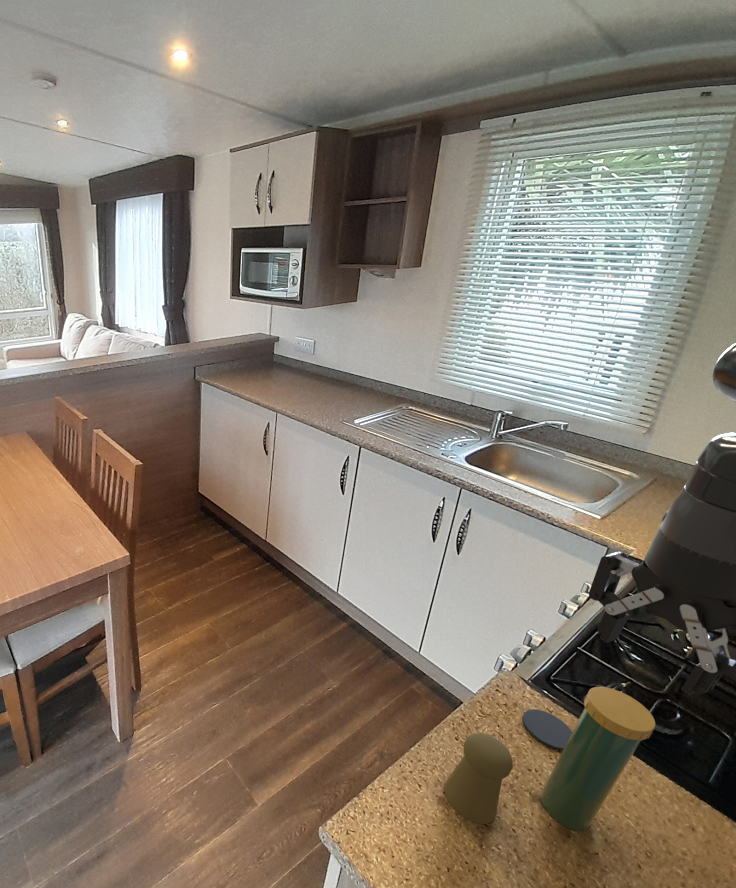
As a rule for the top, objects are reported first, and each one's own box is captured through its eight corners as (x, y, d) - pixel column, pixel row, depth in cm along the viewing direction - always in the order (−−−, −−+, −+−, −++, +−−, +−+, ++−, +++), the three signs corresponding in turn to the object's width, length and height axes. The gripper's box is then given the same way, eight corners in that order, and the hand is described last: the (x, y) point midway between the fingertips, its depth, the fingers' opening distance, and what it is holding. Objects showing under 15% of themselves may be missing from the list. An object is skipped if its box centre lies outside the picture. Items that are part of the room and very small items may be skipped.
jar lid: (627, 698, 59) (631, 690, 58) (664, 744, 54) (670, 736, 53) (572, 691, 60) (576, 683, 59) (604, 735, 55) (608, 727, 54)
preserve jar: (574, 792, 66) (628, 695, 58) (599, 834, 61) (662, 735, 54) (532, 784, 67) (580, 688, 59) (553, 826, 62) (608, 727, 54)
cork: (499, 797, 66) (524, 745, 61) (491, 835, 61) (516, 781, 57) (449, 767, 69) (469, 715, 65) (438, 800, 65) (458, 748, 61)
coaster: (558, 714, 76) (559, 712, 76) (584, 754, 71) (585, 751, 70) (514, 708, 78) (515, 706, 77) (535, 746, 72) (536, 744, 72)
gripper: (854, 576, 41) (758, 707, 48) (648, 497, 54) (595, 611, 60) (807, 597, 39) (714, 731, 46) (604, 510, 52) (554, 626, 58)
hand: (646, 662), depth 53 cm, fingers open, 7 cm apart
